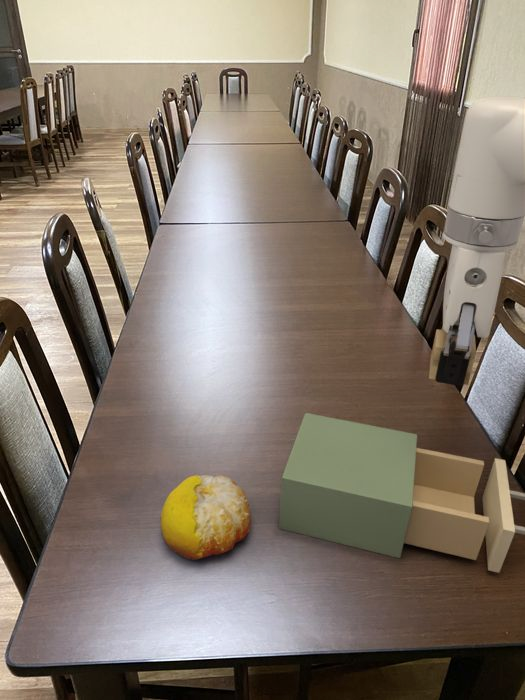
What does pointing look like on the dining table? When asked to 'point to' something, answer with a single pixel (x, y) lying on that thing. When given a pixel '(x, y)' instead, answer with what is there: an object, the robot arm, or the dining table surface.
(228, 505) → the fruit
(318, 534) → the cabinet
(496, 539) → the drawer
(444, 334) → the block
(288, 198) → the dining table surface
